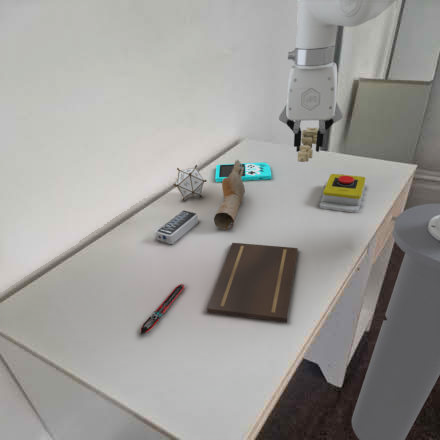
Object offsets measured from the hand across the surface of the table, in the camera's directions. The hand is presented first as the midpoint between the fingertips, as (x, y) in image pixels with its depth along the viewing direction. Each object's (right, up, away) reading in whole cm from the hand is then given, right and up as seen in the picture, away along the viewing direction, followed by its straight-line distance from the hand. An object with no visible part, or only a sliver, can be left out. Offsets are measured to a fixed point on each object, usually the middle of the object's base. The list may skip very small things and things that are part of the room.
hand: (308, 148), depth 86 cm
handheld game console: (-14, +2, +23) cm, 27 cm away
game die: (-28, -8, +14) cm, 32 cm away
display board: (-13, -31, -14) cm, 36 cm away
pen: (-31, -36, -19) cm, 51 cm away
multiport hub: (-30, -19, +2) cm, 36 cm away
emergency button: (+11, -9, +9) cm, 17 cm away
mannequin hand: (-17, -11, +9) cm, 22 cm away
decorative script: (0, 0, 0) cm, 1 cm away
